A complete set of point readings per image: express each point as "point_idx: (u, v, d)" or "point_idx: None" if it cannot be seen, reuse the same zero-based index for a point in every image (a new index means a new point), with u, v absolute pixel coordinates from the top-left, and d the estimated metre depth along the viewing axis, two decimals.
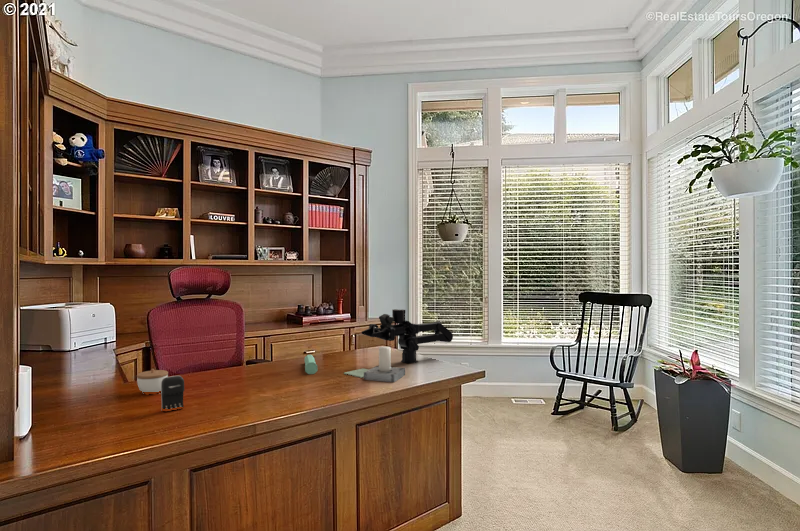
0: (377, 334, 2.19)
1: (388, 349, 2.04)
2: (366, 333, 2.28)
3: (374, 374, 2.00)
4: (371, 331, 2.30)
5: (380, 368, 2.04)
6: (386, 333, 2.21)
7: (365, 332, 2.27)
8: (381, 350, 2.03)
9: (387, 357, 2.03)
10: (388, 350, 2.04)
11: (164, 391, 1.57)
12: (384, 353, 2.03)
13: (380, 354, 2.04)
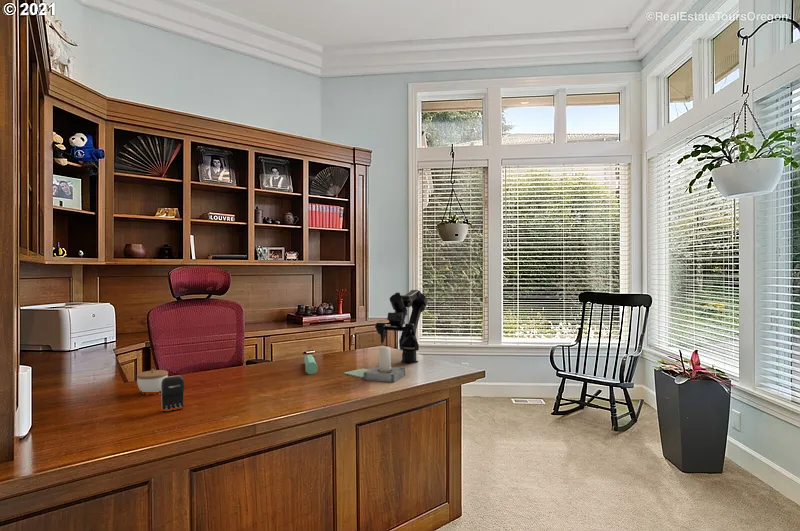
0: (403, 339, 2.13)
1: (388, 349, 2.04)
2: (383, 339, 2.17)
3: (374, 374, 2.00)
4: (384, 332, 2.19)
5: (380, 368, 2.04)
6: (408, 332, 2.15)
7: (383, 339, 2.16)
8: (381, 350, 2.03)
9: (387, 358, 2.03)
10: (388, 350, 2.04)
11: (164, 391, 1.57)
12: (384, 353, 2.03)
13: (380, 354, 2.04)
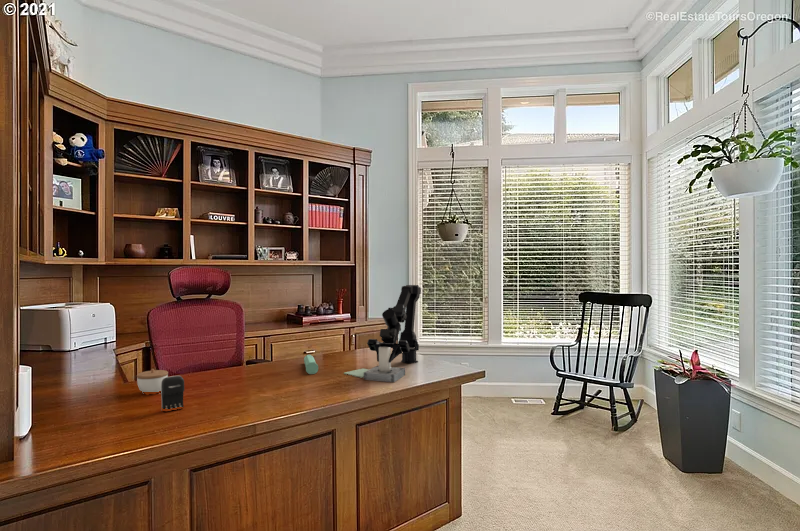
0: (392, 357, 2.05)
1: (388, 349, 2.04)
2: None
3: (374, 374, 2.00)
4: None
5: (380, 368, 2.04)
6: (398, 349, 2.07)
7: None
8: (381, 350, 2.03)
9: (387, 358, 2.03)
10: (388, 350, 2.04)
11: (164, 391, 1.57)
12: (384, 353, 2.03)
13: (380, 354, 2.04)
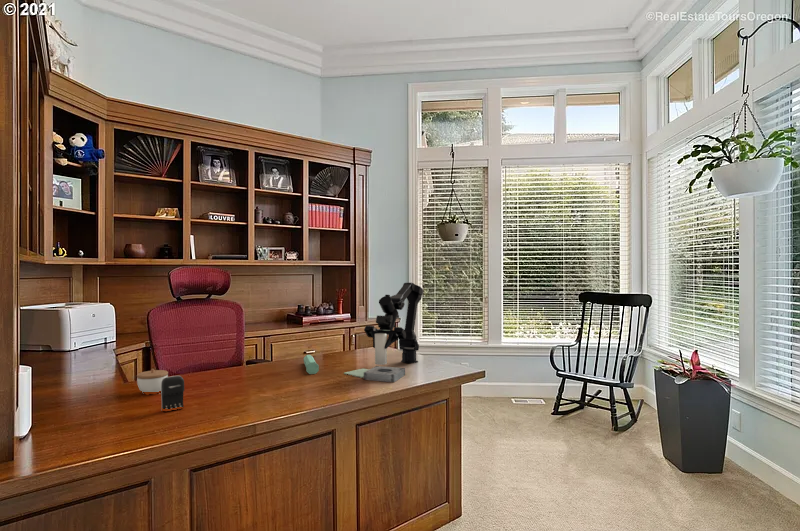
0: (388, 343, 2.05)
1: (384, 335, 2.04)
2: None
3: (374, 374, 2.00)
4: None
5: (376, 354, 2.05)
6: (394, 336, 2.07)
7: None
8: (377, 336, 2.04)
9: (383, 344, 2.04)
10: (384, 336, 2.04)
11: (164, 391, 1.57)
12: (380, 339, 2.04)
13: (376, 340, 2.05)
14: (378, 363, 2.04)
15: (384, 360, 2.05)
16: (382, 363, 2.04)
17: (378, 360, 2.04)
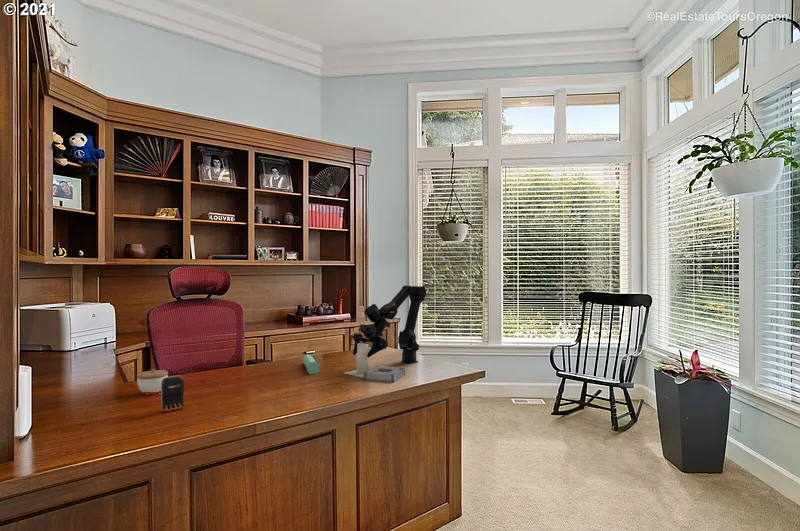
0: (371, 352, 2.09)
1: (364, 345, 2.11)
2: None
3: (374, 374, 2.00)
4: None
5: (357, 363, 2.12)
6: (378, 345, 2.10)
7: (356, 350, 2.16)
8: (358, 346, 2.11)
9: (363, 353, 2.10)
10: (364, 346, 2.11)
11: (164, 391, 1.57)
12: (360, 349, 2.11)
13: (357, 349, 2.12)
14: (358, 372, 2.11)
15: (364, 369, 2.11)
16: (362, 372, 2.10)
17: (358, 369, 2.11)
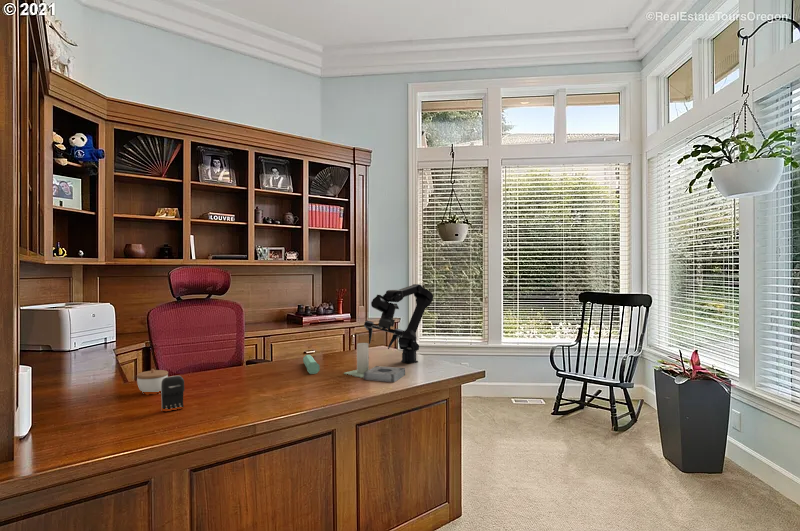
0: (391, 344, 2.21)
1: (364, 345, 2.11)
2: None
3: (374, 374, 2.00)
4: (372, 331, 2.23)
5: (357, 363, 2.12)
6: (396, 337, 2.22)
7: (370, 339, 2.22)
8: (357, 346, 2.11)
9: (362, 353, 2.10)
10: (364, 346, 2.11)
11: (164, 391, 1.57)
12: (360, 349, 2.11)
13: (357, 350, 2.12)
14: (358, 372, 2.11)
15: (364, 369, 2.11)
16: (362, 372, 2.10)
17: (358, 369, 2.11)
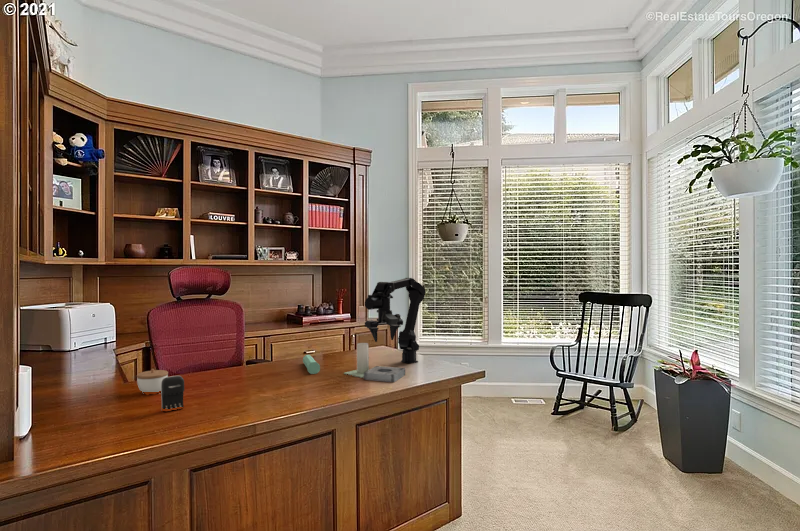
0: None
1: (364, 345, 2.11)
2: None
3: (374, 374, 2.00)
4: None
5: (357, 363, 2.12)
6: None
7: None
8: (357, 346, 2.11)
9: (362, 353, 2.10)
10: (364, 346, 2.11)
11: (164, 391, 1.57)
12: (360, 349, 2.11)
13: (357, 350, 2.12)
14: (358, 372, 2.11)
15: (364, 369, 2.11)
16: (362, 372, 2.10)
17: (358, 369, 2.11)
